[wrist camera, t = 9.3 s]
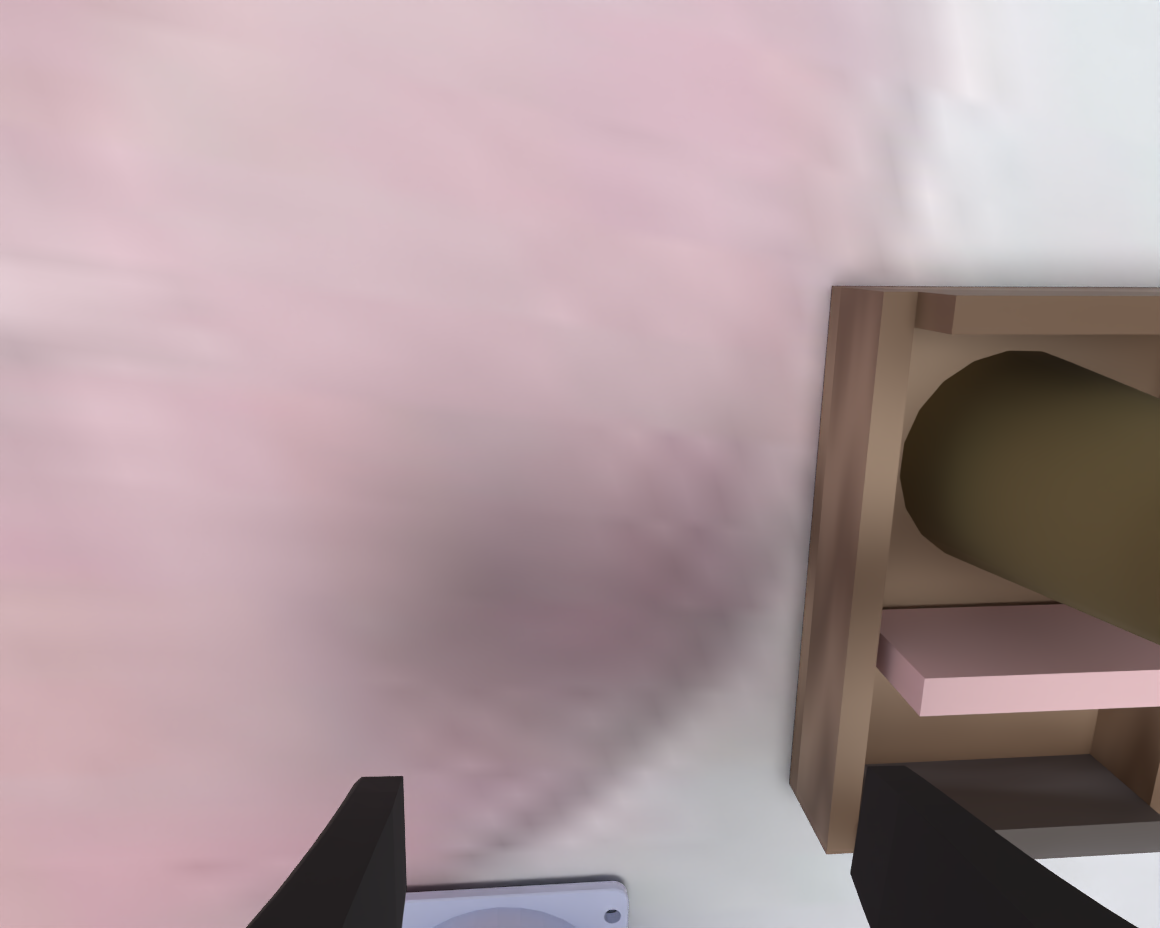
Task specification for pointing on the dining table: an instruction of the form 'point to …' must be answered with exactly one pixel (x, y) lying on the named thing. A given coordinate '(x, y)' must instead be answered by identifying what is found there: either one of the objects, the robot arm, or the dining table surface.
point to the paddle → (1014, 660)
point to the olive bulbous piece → (1044, 483)
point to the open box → (952, 580)
